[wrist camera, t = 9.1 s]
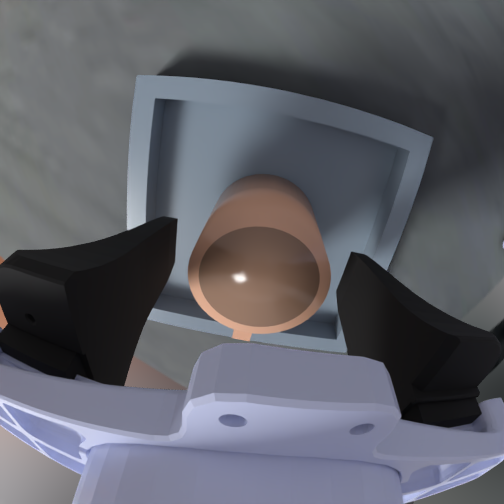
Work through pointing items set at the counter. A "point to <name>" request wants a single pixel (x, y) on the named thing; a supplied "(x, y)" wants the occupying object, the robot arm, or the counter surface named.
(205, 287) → the terracotta cup
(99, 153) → the counter surface
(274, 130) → the tray
